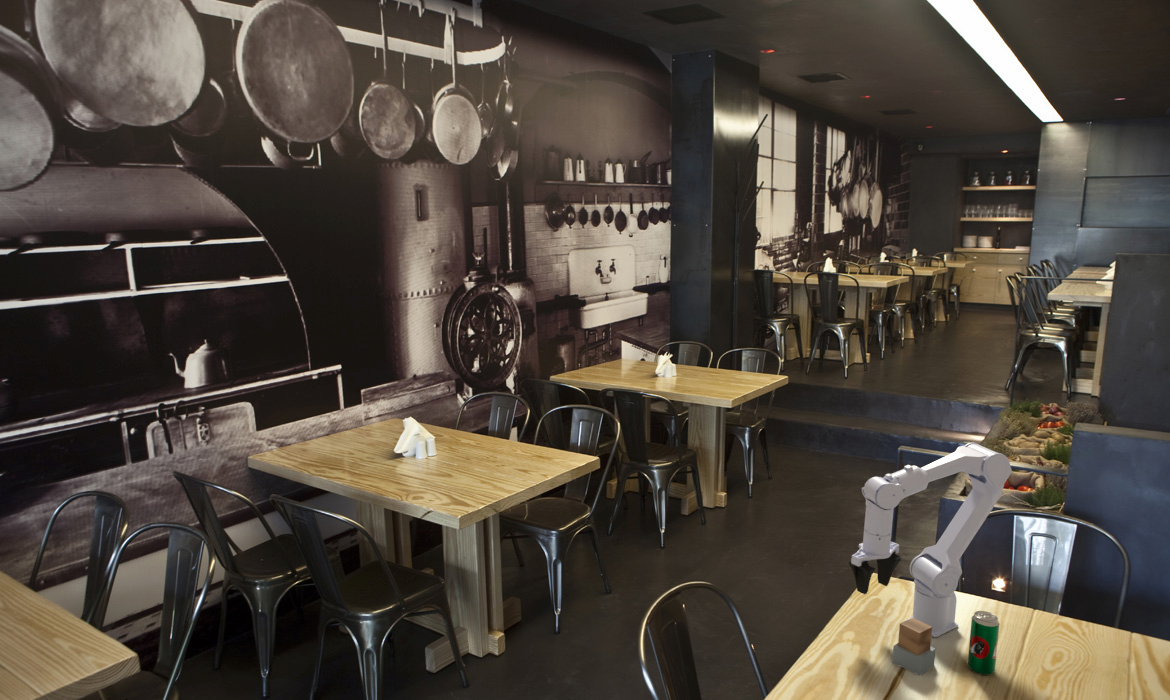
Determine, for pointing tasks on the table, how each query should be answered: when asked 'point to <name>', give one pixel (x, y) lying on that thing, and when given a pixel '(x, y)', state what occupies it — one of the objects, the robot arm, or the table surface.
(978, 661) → the soda can
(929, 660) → the slate block
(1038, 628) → the table surface
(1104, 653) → the table surface
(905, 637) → the walnut block
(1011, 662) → the table surface
